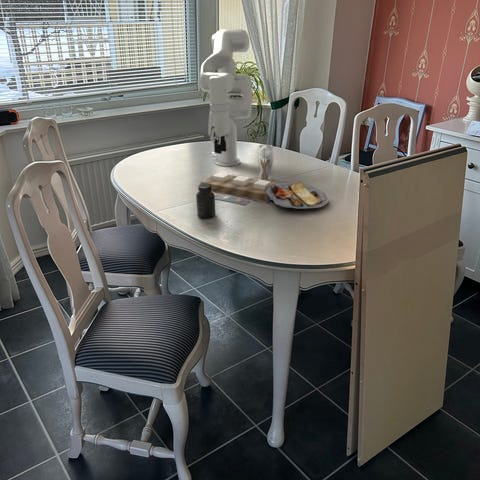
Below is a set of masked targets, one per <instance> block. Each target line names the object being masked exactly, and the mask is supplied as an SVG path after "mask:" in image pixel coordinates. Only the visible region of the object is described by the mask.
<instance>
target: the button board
mask: <svg viewBox="0 0 480 480" xmlns="http://www.w3.org/2000/svg"><path fill="white" fill-rule="evenodd" d="M238 176H239V175H234V174H229V180H227V181H225V182H224V183H223V182H218V181H213V175H211V176H210V177H207V178H205V179H203V180H201V181H200V184H204V183H207V184H211V188H212V190H211V191H212V192H215V193H220V194H224V195H229V196H234V197H236V196H237V197H239V198H244V199H249V200H250V199H251V200H257V201H262V202H265V203H269V201H272V199H271V198H270V197H269V196H268V195H267V193H266V192H265V191H266V190H260V189H255V188H254V183H255V182H257V181H258V180H259V179H255V178H250V183H249V184H247V185H245V186H239V185H234V184H233V179H234V178H236V177H238ZM270 182H271V185H273V184H276V183H277V182H272V181H270Z"/></svg>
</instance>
